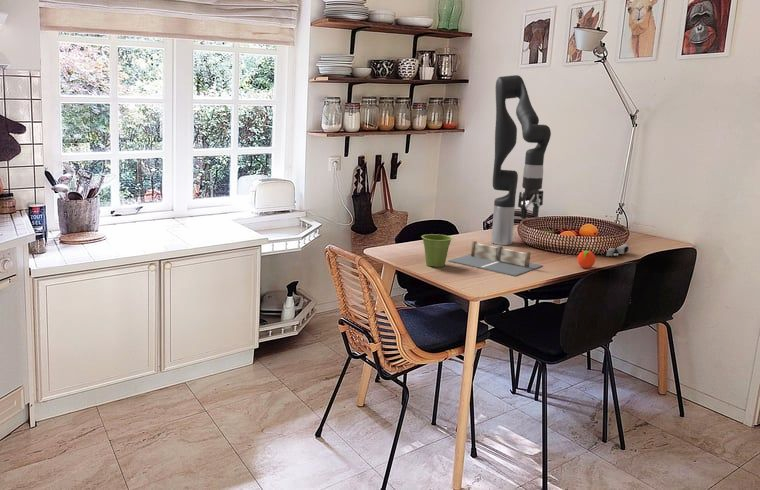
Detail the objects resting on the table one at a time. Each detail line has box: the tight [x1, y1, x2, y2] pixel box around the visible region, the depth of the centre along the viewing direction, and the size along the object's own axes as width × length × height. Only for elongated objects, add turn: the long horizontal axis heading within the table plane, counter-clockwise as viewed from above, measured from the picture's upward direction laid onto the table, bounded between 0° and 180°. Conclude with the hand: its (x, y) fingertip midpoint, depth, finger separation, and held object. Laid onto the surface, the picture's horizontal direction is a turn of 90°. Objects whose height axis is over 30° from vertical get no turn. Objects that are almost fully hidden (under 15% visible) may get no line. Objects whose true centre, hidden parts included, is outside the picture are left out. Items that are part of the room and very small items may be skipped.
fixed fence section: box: [470, 240, 498, 261], centre depth 272 cm, size 12×2×6 cm, turn 50°
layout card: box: [448, 253, 543, 277], centre depth 266 cm, size 22×30×1 cm
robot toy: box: [603, 243, 633, 257], centre depth 290 cm, size 12×4×15 cm
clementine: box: [576, 249, 597, 269], centre depth 264 cm, size 8×7×7 cm
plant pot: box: [421, 233, 453, 268], centre depth 259 cm, size 12×12×11 cm
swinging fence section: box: [497, 245, 531, 267], centre depth 264 cm, size 14×2×6 cm, turn 50°
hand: (529, 217), depth 264 cm, fingers open, 8 cm apart
